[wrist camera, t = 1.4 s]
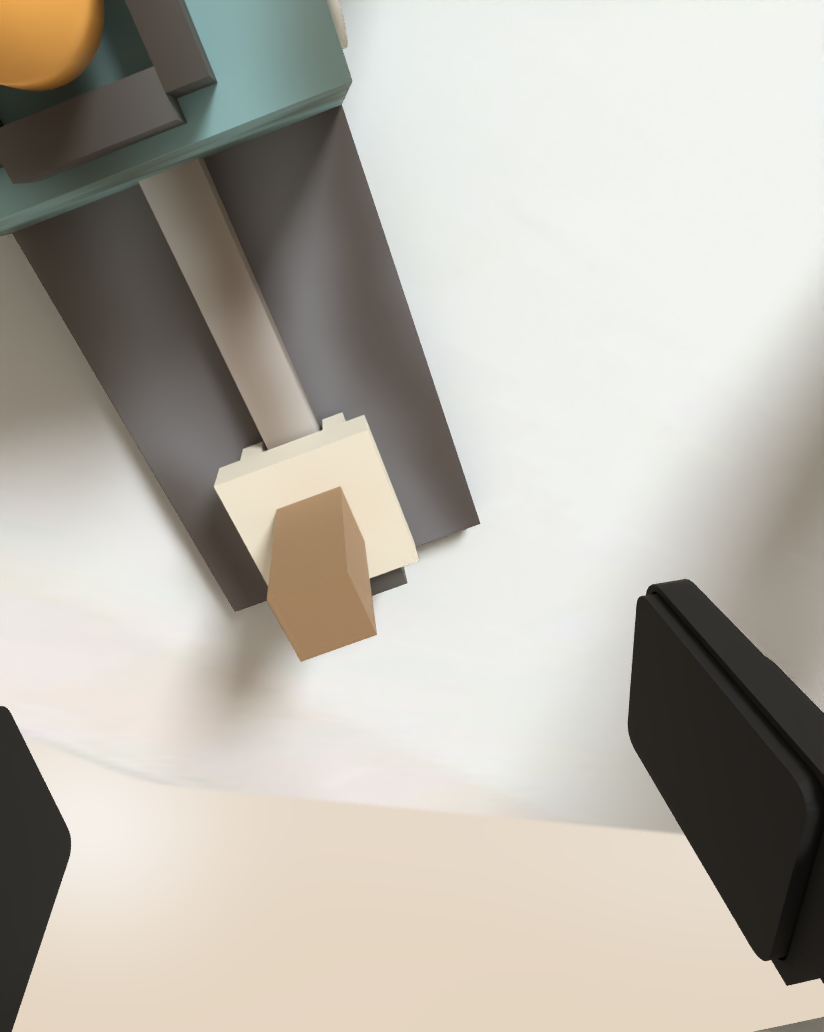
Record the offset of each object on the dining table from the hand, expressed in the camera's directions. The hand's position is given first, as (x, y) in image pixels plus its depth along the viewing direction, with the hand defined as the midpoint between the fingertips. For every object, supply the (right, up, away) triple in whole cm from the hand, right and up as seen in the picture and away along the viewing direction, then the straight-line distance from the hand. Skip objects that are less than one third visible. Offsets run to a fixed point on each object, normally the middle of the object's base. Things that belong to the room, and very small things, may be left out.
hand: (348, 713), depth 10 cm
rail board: (-7, +12, +21) cm, 25 cm away
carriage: (-3, +4, +23) cm, 24 cm away
